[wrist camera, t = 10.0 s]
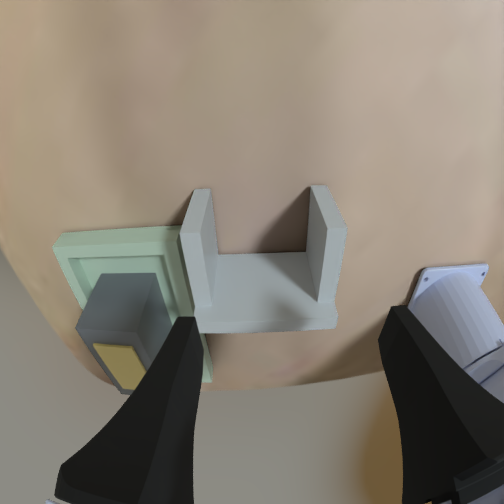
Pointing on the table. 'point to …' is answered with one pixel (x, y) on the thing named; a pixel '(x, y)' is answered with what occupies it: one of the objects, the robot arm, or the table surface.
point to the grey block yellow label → (125, 326)
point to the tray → (131, 266)
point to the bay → (264, 273)
